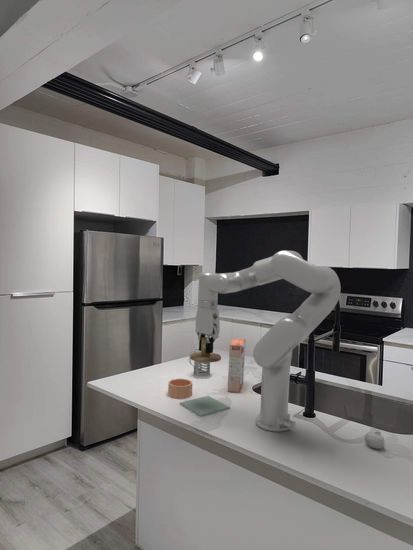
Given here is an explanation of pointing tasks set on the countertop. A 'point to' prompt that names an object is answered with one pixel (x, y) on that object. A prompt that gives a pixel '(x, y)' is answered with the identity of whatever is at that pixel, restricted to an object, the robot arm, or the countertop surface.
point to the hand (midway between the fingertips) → (205, 351)
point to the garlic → (374, 440)
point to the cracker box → (236, 365)
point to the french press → (198, 371)
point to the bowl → (180, 388)
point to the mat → (204, 406)
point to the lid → (205, 354)
